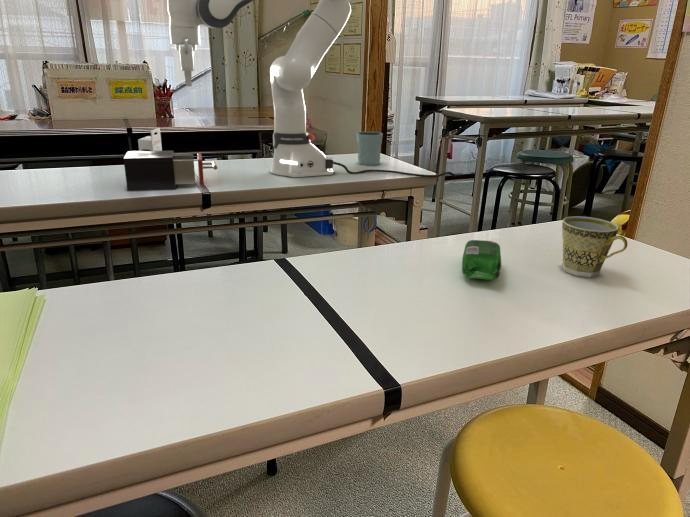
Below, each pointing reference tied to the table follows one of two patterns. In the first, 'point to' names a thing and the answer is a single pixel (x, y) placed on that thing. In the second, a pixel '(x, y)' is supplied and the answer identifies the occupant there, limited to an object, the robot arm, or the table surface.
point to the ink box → (151, 142)
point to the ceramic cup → (587, 244)
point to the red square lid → (189, 168)
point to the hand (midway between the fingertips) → (188, 86)
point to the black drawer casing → (149, 170)
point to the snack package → (481, 260)
